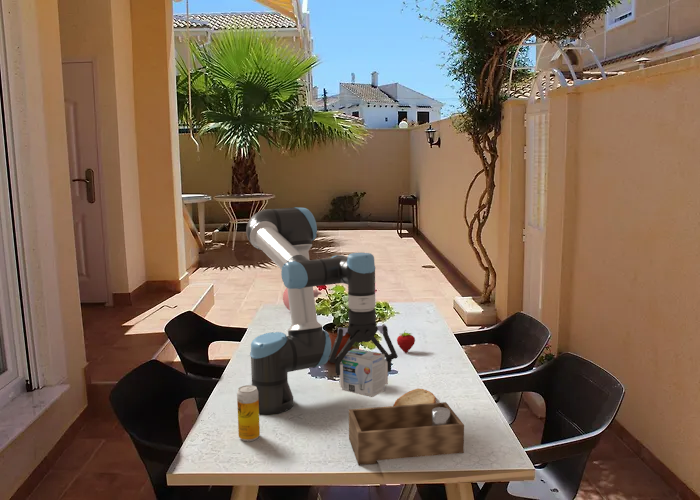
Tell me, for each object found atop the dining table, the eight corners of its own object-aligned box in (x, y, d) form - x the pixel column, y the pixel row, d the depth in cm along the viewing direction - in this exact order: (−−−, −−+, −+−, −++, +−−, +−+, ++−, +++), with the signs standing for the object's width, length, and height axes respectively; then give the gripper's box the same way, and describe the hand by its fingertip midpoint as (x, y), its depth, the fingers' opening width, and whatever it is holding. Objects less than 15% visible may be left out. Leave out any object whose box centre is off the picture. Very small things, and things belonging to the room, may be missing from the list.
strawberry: (416, 354, 260) (416, 330, 259) (398, 355, 259) (398, 331, 258) (413, 350, 266) (413, 326, 264) (395, 350, 265) (395, 327, 264)
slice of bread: (426, 393, 220) (427, 382, 220) (451, 413, 203) (451, 401, 203) (378, 399, 215) (378, 389, 214) (399, 421, 198) (399, 409, 197)
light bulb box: (341, 390, 181) (340, 353, 179) (355, 383, 186) (354, 347, 185) (373, 397, 174) (372, 359, 173) (386, 390, 180) (385, 353, 178)
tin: (434, 445, 178) (434, 415, 177) (429, 437, 183) (429, 407, 182) (451, 444, 179) (452, 413, 178) (446, 436, 184) (446, 406, 182)
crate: (358, 465, 169) (358, 433, 168) (349, 438, 185) (348, 409, 184) (463, 456, 174) (464, 424, 173) (445, 431, 190) (445, 402, 188)
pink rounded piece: (323, 314, 324) (322, 285, 322) (283, 316, 321) (282, 286, 319) (320, 307, 339) (320, 279, 337) (282, 309, 337) (281, 280, 334)
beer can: (234, 437, 186) (232, 388, 184) (251, 431, 191) (250, 383, 188) (246, 444, 182) (245, 394, 180) (264, 437, 186) (262, 388, 184)
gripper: (319, 314, 172) (322, 391, 175) (407, 309, 175) (408, 385, 178) (317, 308, 179) (319, 382, 182) (401, 303, 182) (402, 377, 185)
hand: (363, 384), depth 180 cm, fingers closed on light bulb box, 12 cm apart
